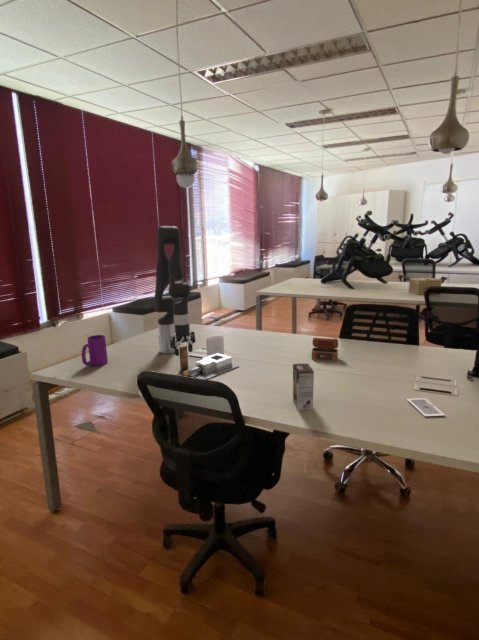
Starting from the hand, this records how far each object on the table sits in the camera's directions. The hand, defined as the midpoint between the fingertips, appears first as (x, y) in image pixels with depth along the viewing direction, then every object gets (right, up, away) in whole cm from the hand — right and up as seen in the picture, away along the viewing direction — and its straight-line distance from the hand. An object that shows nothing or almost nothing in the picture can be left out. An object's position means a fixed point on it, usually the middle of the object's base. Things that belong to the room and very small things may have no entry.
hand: (183, 353), depth 198 cm
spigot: (0, -8, +2) cm, 8 cm away
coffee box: (+54, -17, -42) cm, 70 cm away
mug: (-50, -8, +12) cm, 52 cm away
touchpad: (+100, -18, -47) cm, 112 cm away
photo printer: (+15, -3, +22) cm, 27 cm away
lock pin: (+7, -9, -7) cm, 13 cm away
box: (+75, -4, +12) cm, 76 cm away
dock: (+13, -8, 0) cm, 16 cm away
